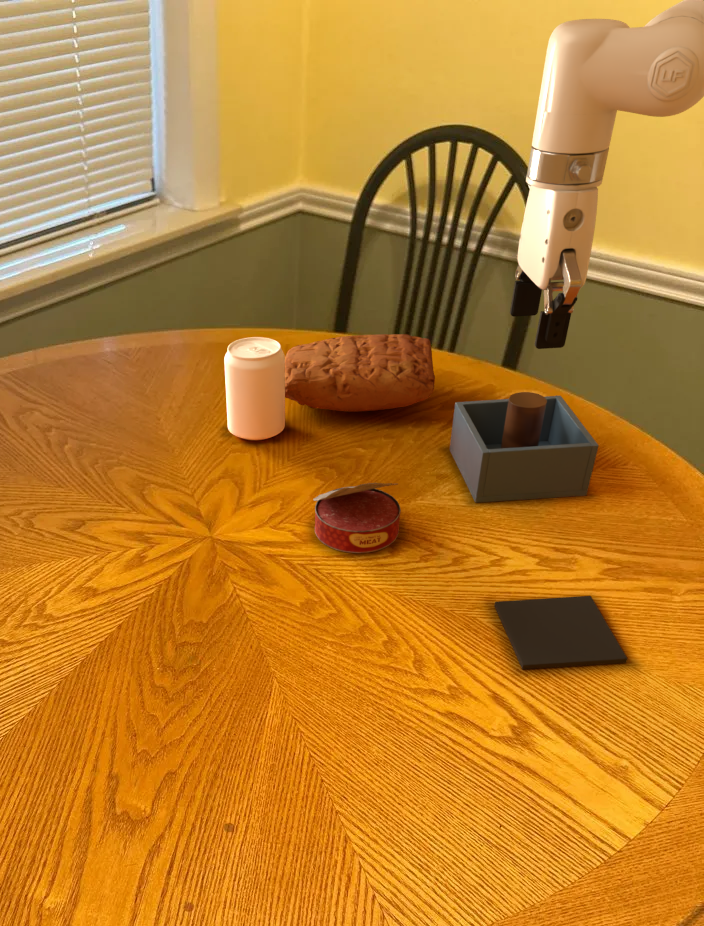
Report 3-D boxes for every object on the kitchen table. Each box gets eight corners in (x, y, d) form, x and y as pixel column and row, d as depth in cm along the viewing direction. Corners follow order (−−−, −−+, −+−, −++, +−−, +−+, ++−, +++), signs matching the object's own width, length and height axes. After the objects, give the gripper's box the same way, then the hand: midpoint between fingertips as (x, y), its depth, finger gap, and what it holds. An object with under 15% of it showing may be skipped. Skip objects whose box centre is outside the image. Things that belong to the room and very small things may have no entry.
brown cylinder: (527, 456, 115) (540, 390, 109) (538, 473, 111) (551, 406, 106) (493, 458, 115) (504, 393, 109) (503, 475, 111) (514, 408, 106)
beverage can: (257, 411, 130) (254, 330, 123) (297, 428, 126) (297, 345, 118) (216, 431, 126) (211, 348, 119) (255, 449, 122) (253, 364, 114)
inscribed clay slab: (432, 379, 136) (437, 327, 131) (430, 431, 123) (436, 376, 118) (288, 375, 140) (287, 324, 134) (272, 425, 127) (271, 371, 122)
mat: (589, 599, 93) (590, 595, 93) (626, 663, 85) (627, 658, 85) (493, 606, 93) (494, 601, 93) (522, 669, 85) (523, 665, 85)
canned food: (320, 576, 106) (280, 510, 102) (349, 525, 112) (312, 460, 108) (404, 560, 99) (365, 488, 94) (430, 507, 105) (394, 436, 100)
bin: (550, 443, 119) (560, 395, 114) (586, 495, 108) (598, 445, 104) (449, 449, 119) (455, 402, 114) (475, 502, 108) (482, 452, 104)
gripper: (635, 185, 85) (594, 359, 96) (574, 145, 98) (545, 302, 109) (556, 190, 85) (525, 363, 96) (506, 149, 98) (483, 305, 109)
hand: (535, 330), depth 102 cm, fingers open, 9 cm apart
